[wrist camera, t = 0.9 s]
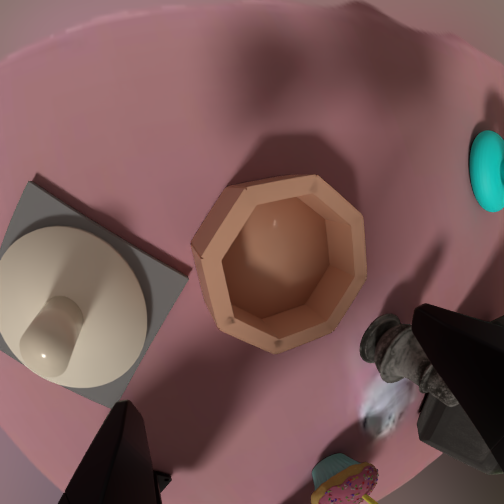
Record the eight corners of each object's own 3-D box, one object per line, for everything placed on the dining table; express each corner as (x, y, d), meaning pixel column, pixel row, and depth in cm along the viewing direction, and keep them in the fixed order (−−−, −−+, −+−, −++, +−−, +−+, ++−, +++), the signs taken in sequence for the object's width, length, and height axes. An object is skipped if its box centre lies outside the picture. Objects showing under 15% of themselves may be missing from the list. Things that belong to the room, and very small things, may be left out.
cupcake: (343, 434, 29) (404, 502, 17) (364, 452, 32) (416, 507, 21) (285, 477, 28) (332, 551, 16) (315, 490, 31) (357, 548, 20)
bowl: (283, 341, 22) (307, 368, 19) (166, 282, 19) (171, 306, 15) (353, 230, 22) (388, 240, 19) (251, 148, 19) (276, 141, 15)
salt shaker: (363, 315, 25) (469, 382, 14) (407, 306, 27) (503, 356, 16) (351, 371, 26) (437, 445, 15) (394, 357, 28) (476, 415, 17)
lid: (110, 403, 18) (107, 454, 14) (-16, 332, 14) (-47, 370, 9) (178, 282, 18) (189, 318, 13) (30, 192, 14) (-10, 197, 9)
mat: (114, 405, 19) (114, 409, 19) (-19, 330, 14) (-22, 334, 14) (187, 276, 19) (188, 279, 18) (31, 181, 14) (28, 181, 14)
